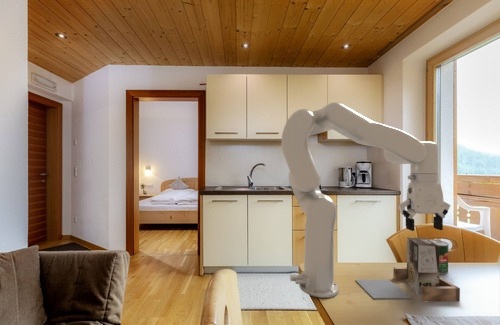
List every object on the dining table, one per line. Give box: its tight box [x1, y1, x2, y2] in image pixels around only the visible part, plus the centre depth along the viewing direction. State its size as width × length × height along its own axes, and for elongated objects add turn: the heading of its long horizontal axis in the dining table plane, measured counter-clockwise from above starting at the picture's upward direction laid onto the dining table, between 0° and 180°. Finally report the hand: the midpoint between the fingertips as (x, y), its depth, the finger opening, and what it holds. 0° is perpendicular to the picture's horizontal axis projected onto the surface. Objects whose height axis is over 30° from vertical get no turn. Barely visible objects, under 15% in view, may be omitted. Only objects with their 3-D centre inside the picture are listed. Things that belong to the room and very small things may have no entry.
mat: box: [354, 279, 412, 300], centre depth 84 cm, size 12×12×1 cm
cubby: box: [392, 266, 461, 303], centre depth 84 cm, size 11×15×4 cm
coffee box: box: [406, 236, 440, 296], centre depth 84 cm, size 9×6×16 cm
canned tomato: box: [427, 238, 450, 275], centre depth 100 cm, size 8×8×11 cm
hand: (424, 229), depth 84 cm, fingers open, 9 cm apart
